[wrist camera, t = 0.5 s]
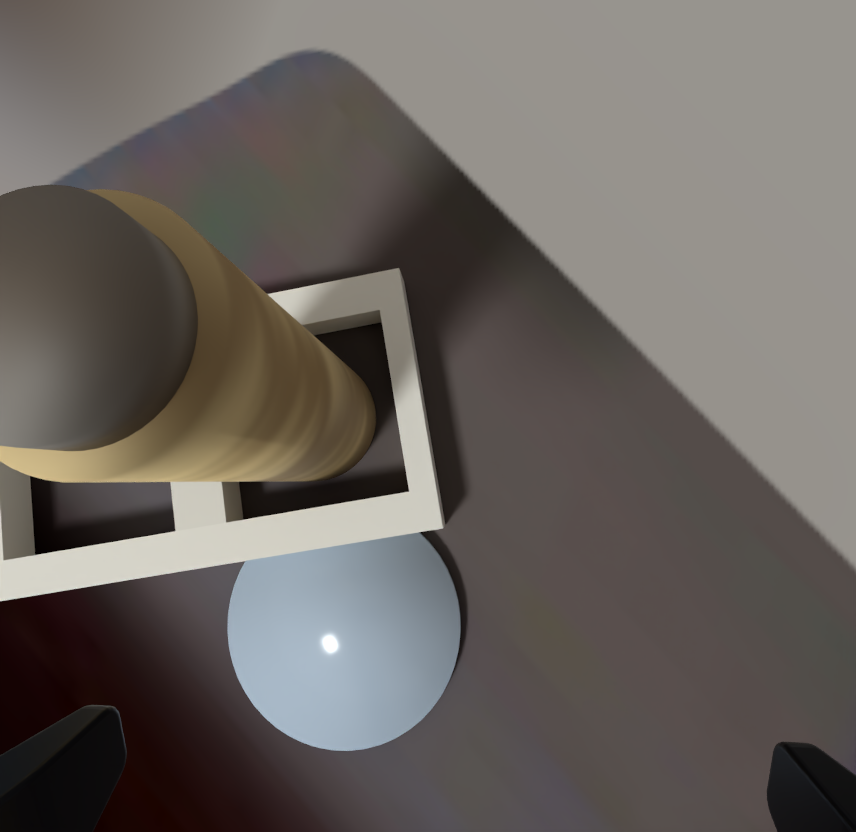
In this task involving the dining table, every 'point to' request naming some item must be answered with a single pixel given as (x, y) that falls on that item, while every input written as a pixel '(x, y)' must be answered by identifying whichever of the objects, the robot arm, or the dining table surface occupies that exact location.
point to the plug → (156, 354)
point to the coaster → (346, 639)
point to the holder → (221, 501)
